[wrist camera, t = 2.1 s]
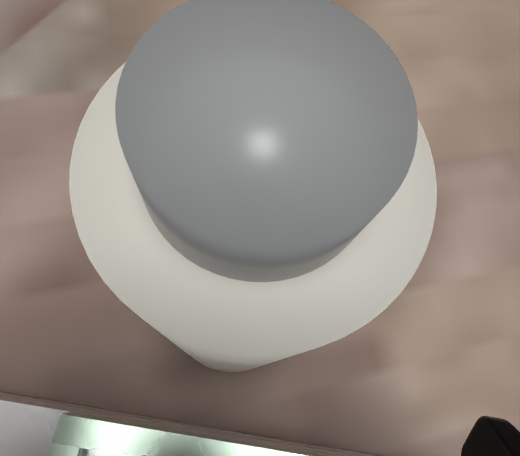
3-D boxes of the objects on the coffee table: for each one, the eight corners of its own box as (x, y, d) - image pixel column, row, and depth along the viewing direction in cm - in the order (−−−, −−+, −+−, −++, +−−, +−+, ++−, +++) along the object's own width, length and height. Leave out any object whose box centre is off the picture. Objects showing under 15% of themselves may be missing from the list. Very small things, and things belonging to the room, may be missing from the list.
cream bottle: (311, 349, 18) (584, 259, 5) (189, 389, 17) (74, 428, 4) (272, 234, 20) (392, -99, 6) (157, 267, 19) (-13, -35, 5)
